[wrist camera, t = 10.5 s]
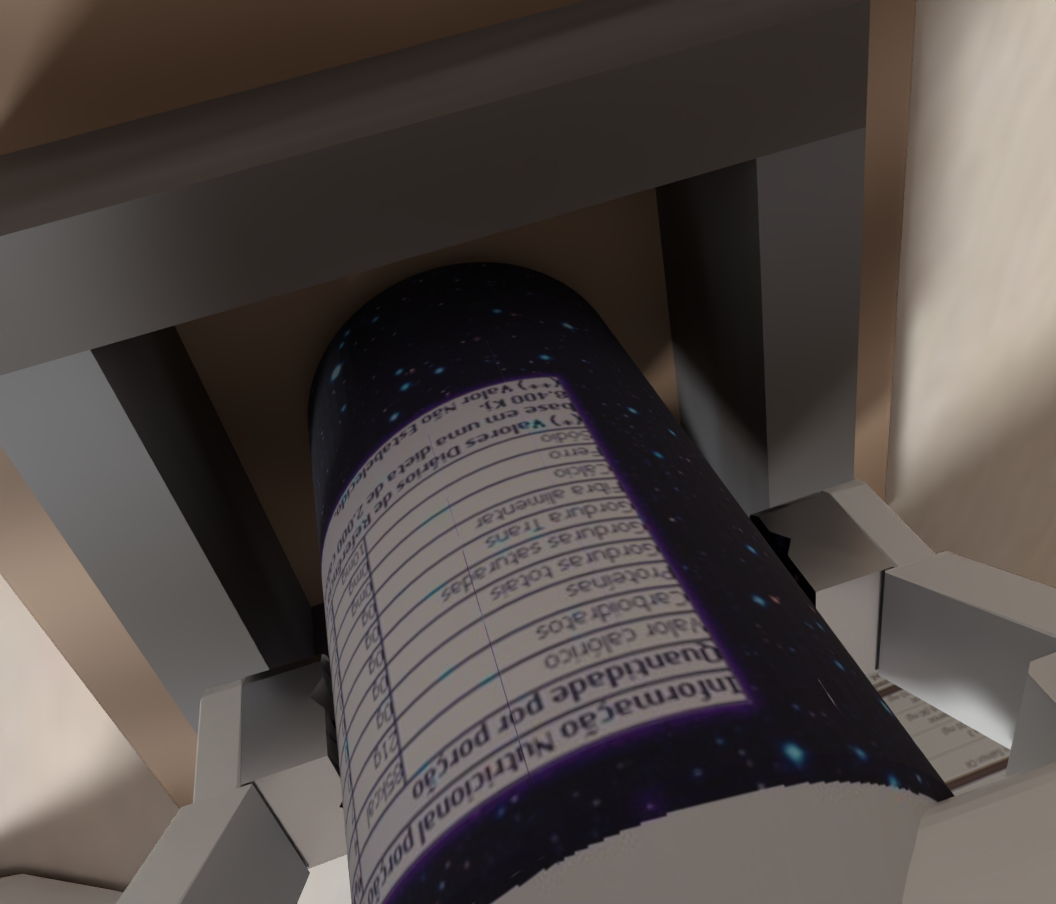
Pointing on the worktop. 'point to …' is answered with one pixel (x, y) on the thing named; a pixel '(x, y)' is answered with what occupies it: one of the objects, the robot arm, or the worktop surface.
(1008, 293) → the worktop surface
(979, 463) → the worktop surface
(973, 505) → the worktop surface
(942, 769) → the supplement box
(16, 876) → the flask
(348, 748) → the beverage can
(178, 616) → the square holder on base
